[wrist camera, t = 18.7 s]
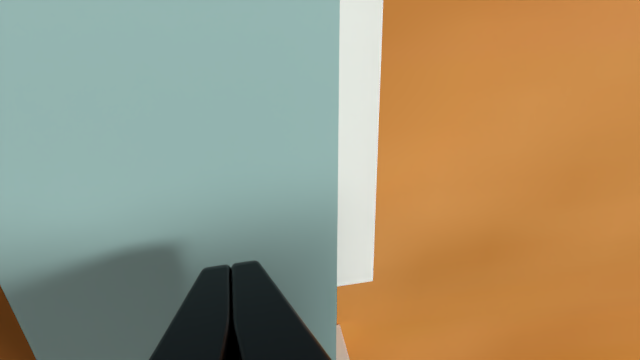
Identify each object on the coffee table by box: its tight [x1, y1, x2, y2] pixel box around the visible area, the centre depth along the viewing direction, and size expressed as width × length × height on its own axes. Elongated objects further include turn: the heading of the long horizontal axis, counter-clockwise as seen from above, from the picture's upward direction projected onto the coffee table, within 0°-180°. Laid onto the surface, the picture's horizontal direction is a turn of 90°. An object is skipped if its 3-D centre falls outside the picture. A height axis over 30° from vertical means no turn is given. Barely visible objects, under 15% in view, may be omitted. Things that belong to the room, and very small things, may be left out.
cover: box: [0, 0, 340, 360], centre depth 8 cm, size 15×8×4 cm, turn 1°
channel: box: [336, 0, 383, 360], centre depth 12 cm, size 18×8×4 cm, turn 2°
